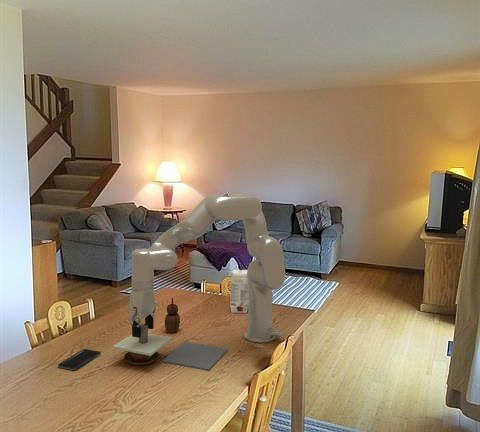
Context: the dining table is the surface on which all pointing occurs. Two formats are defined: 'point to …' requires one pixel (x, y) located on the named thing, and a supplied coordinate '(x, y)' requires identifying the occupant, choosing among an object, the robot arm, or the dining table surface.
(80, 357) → the phone
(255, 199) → the robot arm
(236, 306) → the juice carton
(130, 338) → the cover board
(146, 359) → the cup and saucer
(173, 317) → the wooden figurine
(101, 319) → the dining table surface
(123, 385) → the dining table surface
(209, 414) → the dining table surface
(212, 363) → the rubber mat
